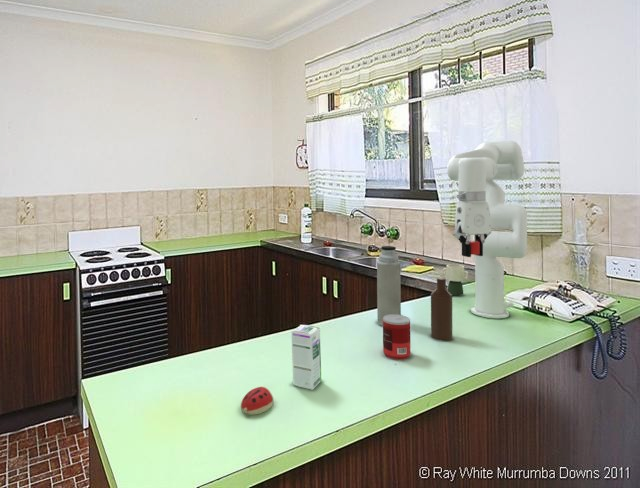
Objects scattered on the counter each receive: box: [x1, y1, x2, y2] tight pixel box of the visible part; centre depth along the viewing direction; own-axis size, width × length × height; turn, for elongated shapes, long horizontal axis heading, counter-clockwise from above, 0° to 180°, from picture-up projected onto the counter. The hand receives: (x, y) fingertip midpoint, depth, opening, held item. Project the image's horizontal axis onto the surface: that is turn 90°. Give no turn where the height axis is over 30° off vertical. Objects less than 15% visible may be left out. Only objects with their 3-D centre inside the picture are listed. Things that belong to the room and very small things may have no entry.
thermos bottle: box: [376, 245, 402, 327], centre depth 159 cm, size 8×8×28 cm
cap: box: [469, 239, 480, 256], centre depth 138 cm, size 4×4×4 cm
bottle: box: [430, 277, 453, 342], centre depth 145 cm, size 6×6×20 cm
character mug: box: [442, 263, 469, 296], centre depth 193 cm, size 11×7×13 cm, turn 37°
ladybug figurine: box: [240, 386, 274, 416], centre depth 104 cm, size 7×10×4 cm
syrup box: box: [291, 324, 322, 391], centre depth 115 cm, size 6×6×14 cm
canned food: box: [382, 314, 411, 360], centre depth 132 cm, size 8×8×11 cm
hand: (472, 255), depth 138 cm, fingers closed on cap, 3 cm apart
